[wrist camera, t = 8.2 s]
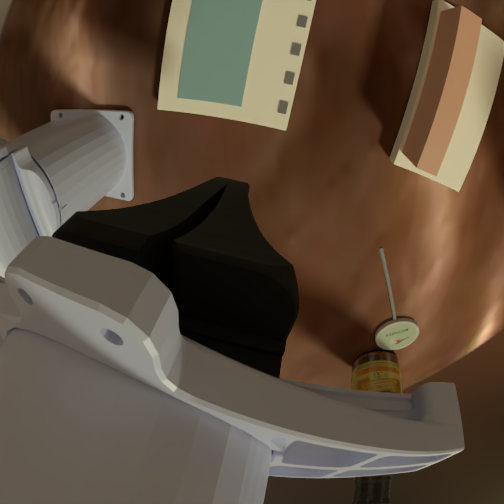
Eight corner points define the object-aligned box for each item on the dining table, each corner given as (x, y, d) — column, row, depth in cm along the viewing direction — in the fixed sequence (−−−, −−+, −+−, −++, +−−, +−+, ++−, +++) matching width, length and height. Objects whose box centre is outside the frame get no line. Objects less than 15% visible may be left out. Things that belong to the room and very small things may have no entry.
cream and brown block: (389, 158, 18) (406, 181, 15) (432, 0, 10) (459, -9, 7) (452, 185, 18) (476, 211, 14) (497, 42, 10) (530, 45, 6)
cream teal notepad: (164, 106, 18) (156, 109, 17) (191, -49, 10) (185, -55, 9) (287, 127, 18) (286, 131, 17) (324, -39, 10) (325, -45, 9)
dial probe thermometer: (409, 241, 21) (419, 343, 28) (407, 235, 22) (418, 337, 29) (352, 258, 23) (378, 354, 30) (351, 252, 24) (377, 348, 31)
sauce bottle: (402, 345, 30) (415, 507, 14) (392, 371, 33) (396, 510, 18) (350, 348, 31) (346, 516, 16) (346, 374, 35) (339, 516, 19)
